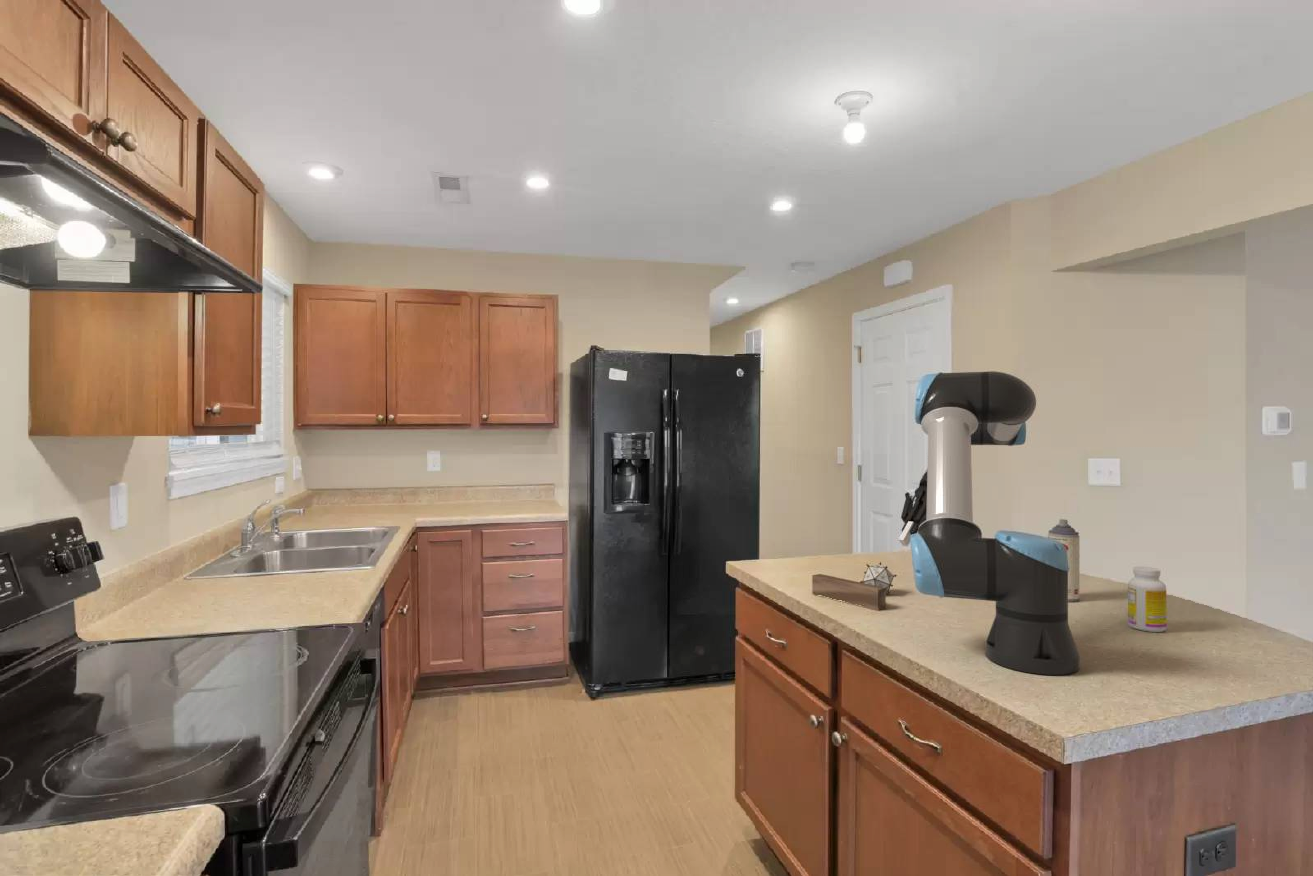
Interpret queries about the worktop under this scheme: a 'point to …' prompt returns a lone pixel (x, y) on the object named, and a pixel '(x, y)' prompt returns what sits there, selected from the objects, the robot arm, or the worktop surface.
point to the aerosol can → (1069, 555)
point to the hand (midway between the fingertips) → (903, 542)
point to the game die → (878, 576)
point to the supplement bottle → (1147, 600)
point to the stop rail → (849, 591)
